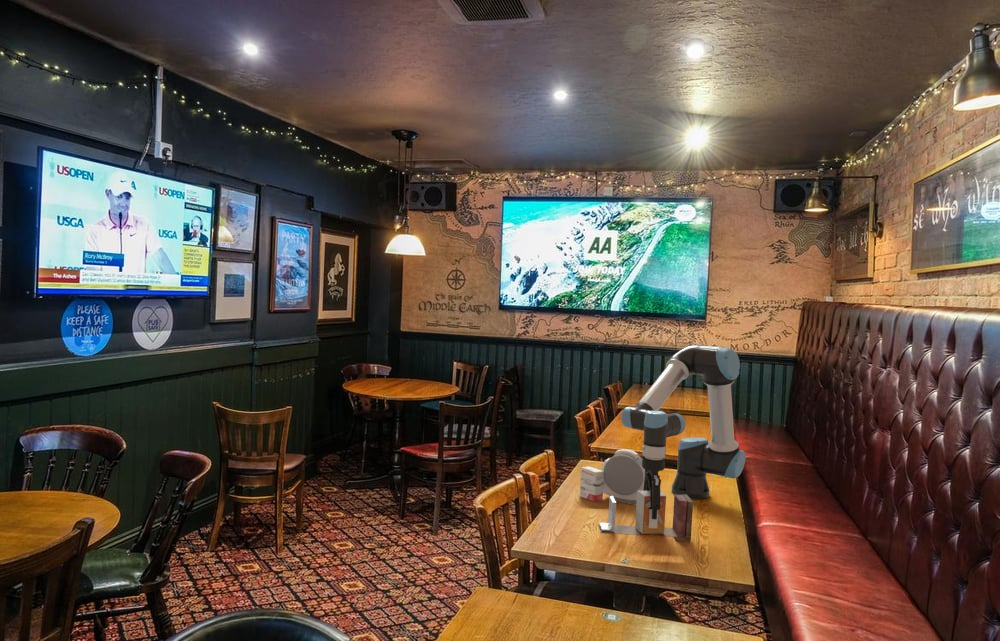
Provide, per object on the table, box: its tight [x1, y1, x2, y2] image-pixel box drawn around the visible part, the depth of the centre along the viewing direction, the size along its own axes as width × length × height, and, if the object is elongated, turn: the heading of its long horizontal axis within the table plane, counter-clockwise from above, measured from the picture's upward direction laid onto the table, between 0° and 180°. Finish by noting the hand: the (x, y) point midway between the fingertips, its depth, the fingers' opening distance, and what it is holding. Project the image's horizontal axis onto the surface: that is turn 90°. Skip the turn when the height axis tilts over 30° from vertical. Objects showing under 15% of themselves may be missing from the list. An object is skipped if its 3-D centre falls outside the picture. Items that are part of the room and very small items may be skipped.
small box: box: [634, 491, 667, 534], centre depth 221 cm, size 8×6×13 cm
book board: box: [597, 494, 694, 543], centre depth 221 cm, size 30×8×14 cm, turn 89°
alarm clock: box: [600, 448, 645, 506], centre depth 257 cm, size 18×8×20 cm, turn 63°
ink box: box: [579, 466, 604, 503], centre depth 258 cm, size 8×5×12 cm, turn 38°
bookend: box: [599, 496, 617, 532], centre depth 221 cm, size 4×7×10 cm, turn 179°
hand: (649, 522), depth 221 cm, fingers open, 8 cm apart
